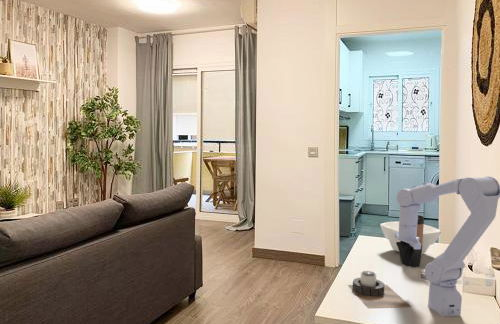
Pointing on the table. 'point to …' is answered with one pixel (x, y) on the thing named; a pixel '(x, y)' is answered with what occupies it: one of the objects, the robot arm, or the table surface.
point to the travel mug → (417, 254)
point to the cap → (368, 279)
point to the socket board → (378, 295)
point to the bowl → (389, 231)
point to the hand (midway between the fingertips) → (405, 264)
